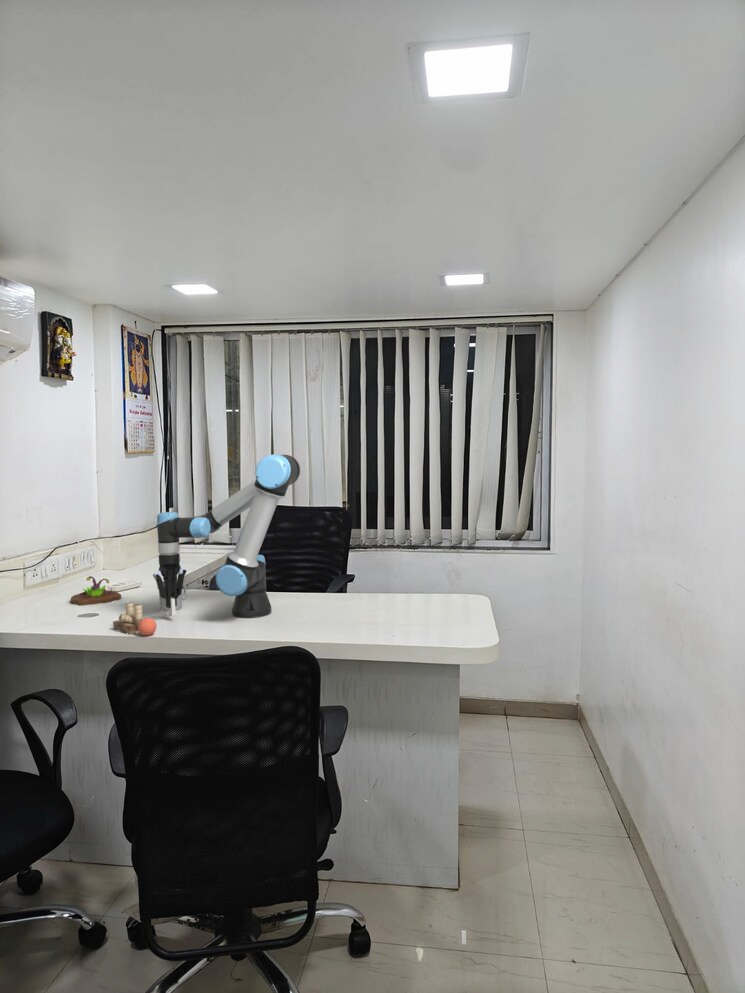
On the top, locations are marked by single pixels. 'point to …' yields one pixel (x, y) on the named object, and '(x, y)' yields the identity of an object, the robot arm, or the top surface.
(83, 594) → the plant
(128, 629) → the brown long block
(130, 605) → the pin
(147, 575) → the top surface
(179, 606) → the mug
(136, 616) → the pin
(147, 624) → the ball
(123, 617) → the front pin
